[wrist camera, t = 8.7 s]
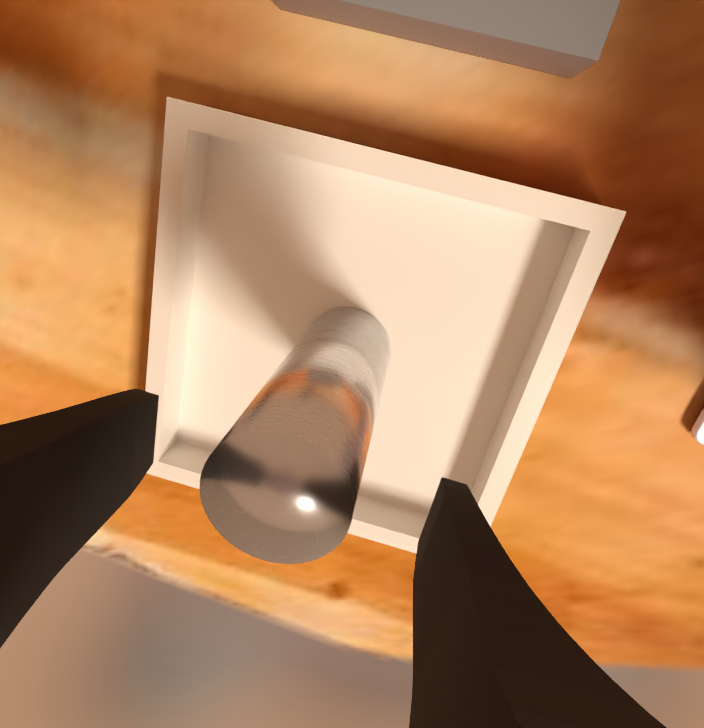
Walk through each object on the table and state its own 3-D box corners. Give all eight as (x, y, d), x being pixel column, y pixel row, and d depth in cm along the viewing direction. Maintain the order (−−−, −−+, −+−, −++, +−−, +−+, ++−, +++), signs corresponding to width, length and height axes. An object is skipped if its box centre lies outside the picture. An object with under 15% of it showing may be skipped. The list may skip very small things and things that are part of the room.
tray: (602, 205, 18) (626, 211, 15) (468, 530, 24) (471, 569, 21) (200, 104, 19) (166, 96, 16) (167, 442, 24) (139, 471, 22)
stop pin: (400, 320, 19) (369, 459, 10) (378, 397, 21) (333, 581, 12) (314, 296, 20) (208, 412, 10) (297, 374, 21) (191, 538, 12)
